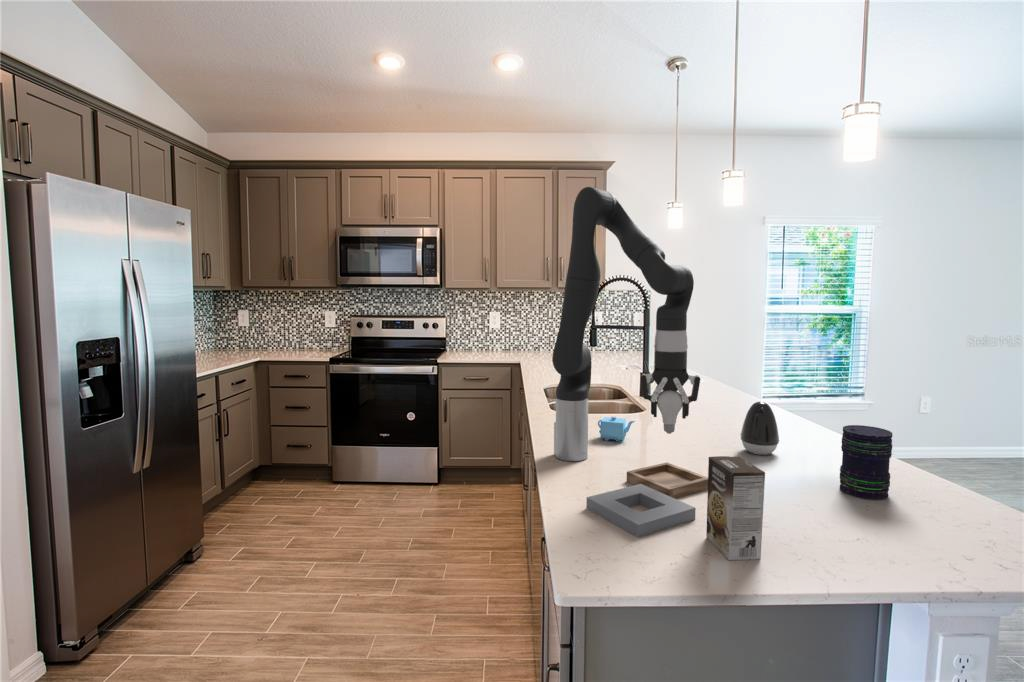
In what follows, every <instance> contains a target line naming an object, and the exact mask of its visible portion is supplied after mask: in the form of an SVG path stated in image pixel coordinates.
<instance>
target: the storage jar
mask: <svg viewBox="0 0 1024 682" xmlns="http://www.w3.org/2000/svg"><path fill="white" fill-rule="evenodd" d="M892 438H893V432H892V431H890V430H888V429H885V428H881V427H877V426H869V425H860V424H856V425H855V424H853V425H852V424H849V425H845V426H842V436H841V446H840V448H841V451H842V457H841V459H842V460H841V461H842V462H841V465H840V466H839V467H840V468H839V484H840V485H839V490H840V491H841V492H842V493H843V494H846V495H848V496H851V497H853V498H857V499H862V500H868V501H885V500H887V499H889V491H890V487H891V473H890V460H891V458H892V455H893V453H892V452H893V439H892Z"/></svg>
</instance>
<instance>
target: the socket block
mask: <svg viewBox="0 0 1024 682" xmlns="http://www.w3.org/2000/svg"><path fill="white" fill-rule="evenodd" d="M637 504H638V505H641V504H642V506H643V505H644V507H645V506H646V508H647V507H648V509H647V510H644V511H640V512H639V511H637V510H635V509H633V508H631V507H633V506H637ZM586 509H587V510H588V511H591V512H593V513H594V514H596V515H597V516H599V517H601V518H604V519H605V520H606V521H608V522H611V523H612V524H614V525H615V526H617V527H619V528H620V529H623V530H624V531H626V532H628V533H629V534H631V535H634V536H635V537H637V538H640V537H644V536H647V535H650V534H653V533H657V532H659V531H662V530H665V529H668V528H671V527H675V526H678V525H682V524H685V523H688V522H690V521H693V520H696V506H693V505H690V504H688V503H686V502H684V501H682V500H679V499H678V498H672V497H670V496H668V495H665V494H663V493H661V492H658V491H656V490H654V489H652V488H649V487H647V486H645V485H642V484H638V485H634V484H633V485H630V486H626V487H622V488H619V489H615V490H610V491H607V492H603V493H598V494H595V495H590V496H587V497H586Z"/></svg>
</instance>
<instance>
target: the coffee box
mask: <svg viewBox="0 0 1024 682" xmlns="http://www.w3.org/2000/svg"><path fill="white" fill-rule="evenodd" d="M707 470H708V471H707V477H708V489H707V503H706V504H707V505H706V506H707V507H706V539H707V540H709V542H710V543H711V544H712V545H713V546H714V547H715V548H716V549H717V550H718V551H719V552H720V553H721V554H722V555H723V556H724V557H725V559H727V561H744V560H746V561H747V560H748V561H749V559H750V560H761V558H762V557H761V556H762V541H763V540H762V538H763V536H762V535H763V523H764V521H763V519H764V501H765V484H766V483H765V481H766V471H764V470H762V469H760V468H758V467H757V466H756V465H754V464H752V463H750V461H748V460H746V459H744V458H742V456H741V457H740V456H727V455H724V456H723V455H722V456H709V457H708V467H707Z"/></svg>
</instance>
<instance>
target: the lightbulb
mask: <svg viewBox="0 0 1024 682" xmlns="http://www.w3.org/2000/svg"><path fill="white" fill-rule="evenodd" d="M656 401H657V409H659V411H660V414H661V418H662V423H663V431H664V432H665V433H666V434H667V435H671V434H672V433H674V432H675V429H676V423H677V417H678V415H679V413H680V411H682V410H681V409H682V405H683V399H682V397H681V395H680V393H679V391H671V390H668V391H663V390H662V391H661V393H660V394H659V396H658V398H657V400H656Z"/></svg>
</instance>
